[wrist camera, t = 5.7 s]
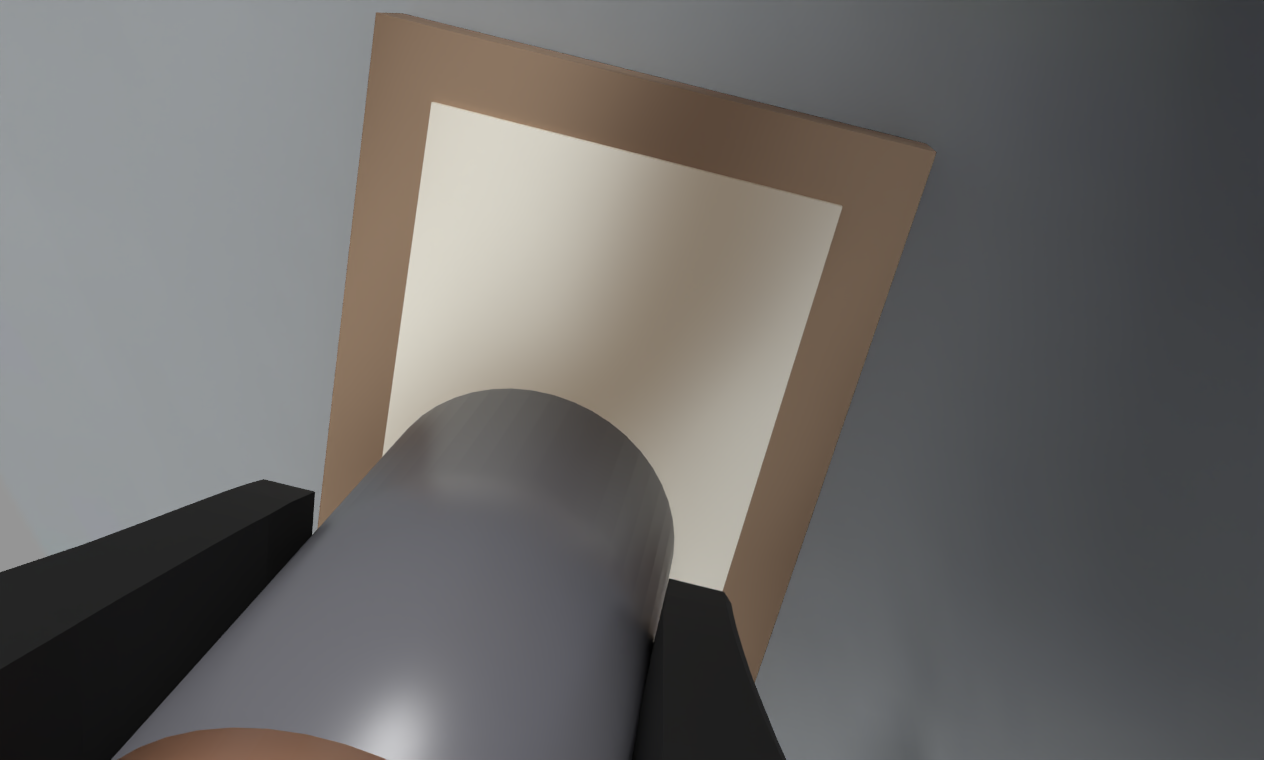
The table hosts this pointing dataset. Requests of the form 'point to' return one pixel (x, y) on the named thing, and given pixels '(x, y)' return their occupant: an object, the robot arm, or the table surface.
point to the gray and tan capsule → (450, 605)
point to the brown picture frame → (620, 279)
